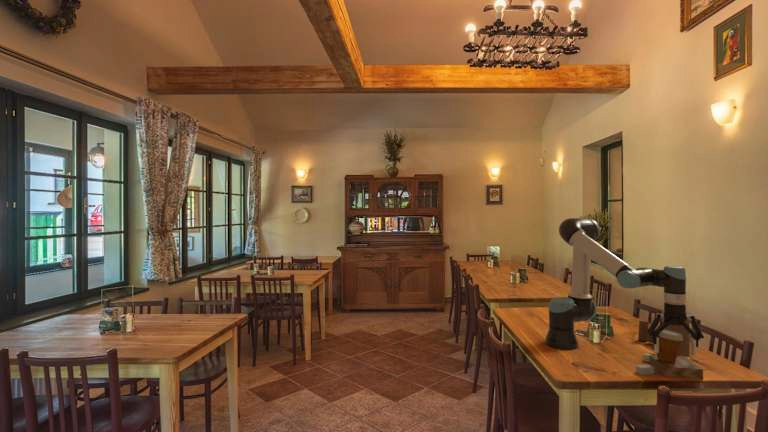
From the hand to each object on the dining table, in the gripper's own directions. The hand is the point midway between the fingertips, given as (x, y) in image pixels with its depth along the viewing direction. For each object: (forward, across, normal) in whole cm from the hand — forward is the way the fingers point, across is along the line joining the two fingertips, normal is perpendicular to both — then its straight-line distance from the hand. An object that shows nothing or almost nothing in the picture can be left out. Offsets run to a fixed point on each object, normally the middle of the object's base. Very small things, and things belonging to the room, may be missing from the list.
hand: (674, 353), depth 168 cm
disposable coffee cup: (+3, -3, 0) cm, 5 cm away
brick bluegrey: (+8, -13, -5) cm, 16 cm away
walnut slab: (+8, 0, 0) cm, 8 cm away
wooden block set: (+8, +5, +41) cm, 42 cm away
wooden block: (+8, +10, +24) cm, 27 cm away
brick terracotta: (+8, +7, +11) cm, 15 cm away
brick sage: (+8, -5, +10) cm, 14 cm away
